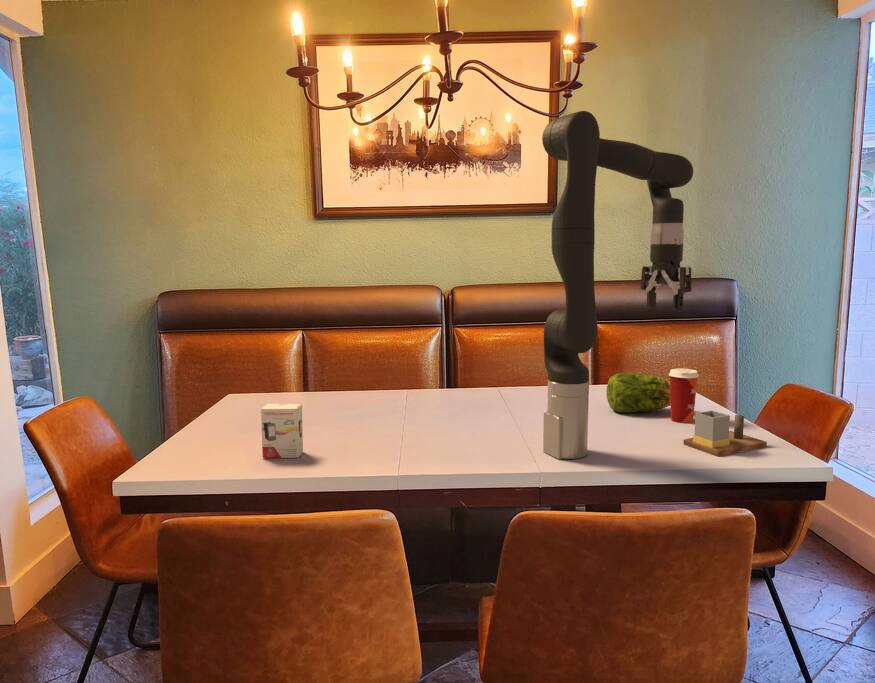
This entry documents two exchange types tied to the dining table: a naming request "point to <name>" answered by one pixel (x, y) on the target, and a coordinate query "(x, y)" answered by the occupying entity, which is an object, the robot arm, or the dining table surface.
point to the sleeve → (712, 429)
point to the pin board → (731, 441)
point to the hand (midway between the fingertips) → (664, 308)
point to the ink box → (282, 431)
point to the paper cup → (683, 394)
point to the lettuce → (637, 392)
